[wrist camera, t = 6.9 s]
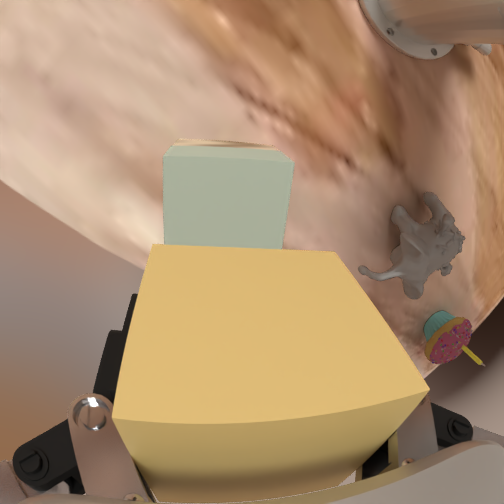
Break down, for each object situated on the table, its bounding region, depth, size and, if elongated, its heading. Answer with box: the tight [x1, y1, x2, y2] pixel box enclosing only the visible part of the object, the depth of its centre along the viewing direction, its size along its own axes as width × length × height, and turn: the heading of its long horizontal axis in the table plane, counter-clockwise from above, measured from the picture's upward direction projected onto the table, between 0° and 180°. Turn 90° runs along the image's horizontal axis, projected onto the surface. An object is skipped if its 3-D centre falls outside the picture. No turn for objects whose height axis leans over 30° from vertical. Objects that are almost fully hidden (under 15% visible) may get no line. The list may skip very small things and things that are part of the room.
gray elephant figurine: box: [358, 192, 465, 299], centre depth 28 cm, size 9×12×8 cm
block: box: [112, 244, 430, 503], centre depth 8 cm, size 6×6×6 cm
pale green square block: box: [163, 146, 295, 249], centre depth 21 cm, size 8×8×4 cm
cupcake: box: [424, 311, 485, 366], centre depth 35 cm, size 9×8×12 cm
